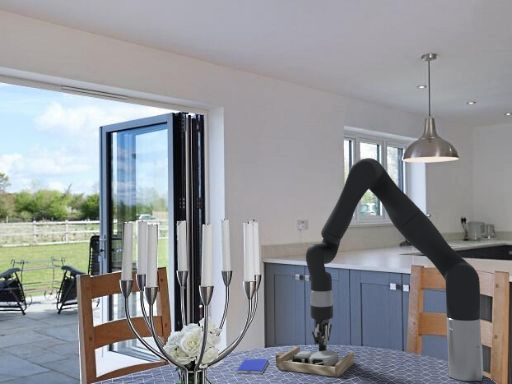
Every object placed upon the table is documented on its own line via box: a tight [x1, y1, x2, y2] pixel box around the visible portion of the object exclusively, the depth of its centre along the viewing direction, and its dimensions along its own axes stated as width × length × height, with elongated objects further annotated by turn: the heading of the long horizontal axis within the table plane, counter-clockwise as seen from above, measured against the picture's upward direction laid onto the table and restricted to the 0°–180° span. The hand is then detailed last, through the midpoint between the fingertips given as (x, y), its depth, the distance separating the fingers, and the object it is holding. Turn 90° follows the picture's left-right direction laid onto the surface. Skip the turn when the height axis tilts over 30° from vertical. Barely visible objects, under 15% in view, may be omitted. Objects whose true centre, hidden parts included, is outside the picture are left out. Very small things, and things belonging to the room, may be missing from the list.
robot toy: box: [288, 350, 342, 367], centre depth 171 cm, size 12×4×15 cm
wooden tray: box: [275, 345, 355, 378], centre depth 172 cm, size 22×16×4 cm
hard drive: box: [236, 358, 270, 375], centre depth 172 cm, size 2×8×12 cm
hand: (322, 355), depth 178 cm, fingers closed
